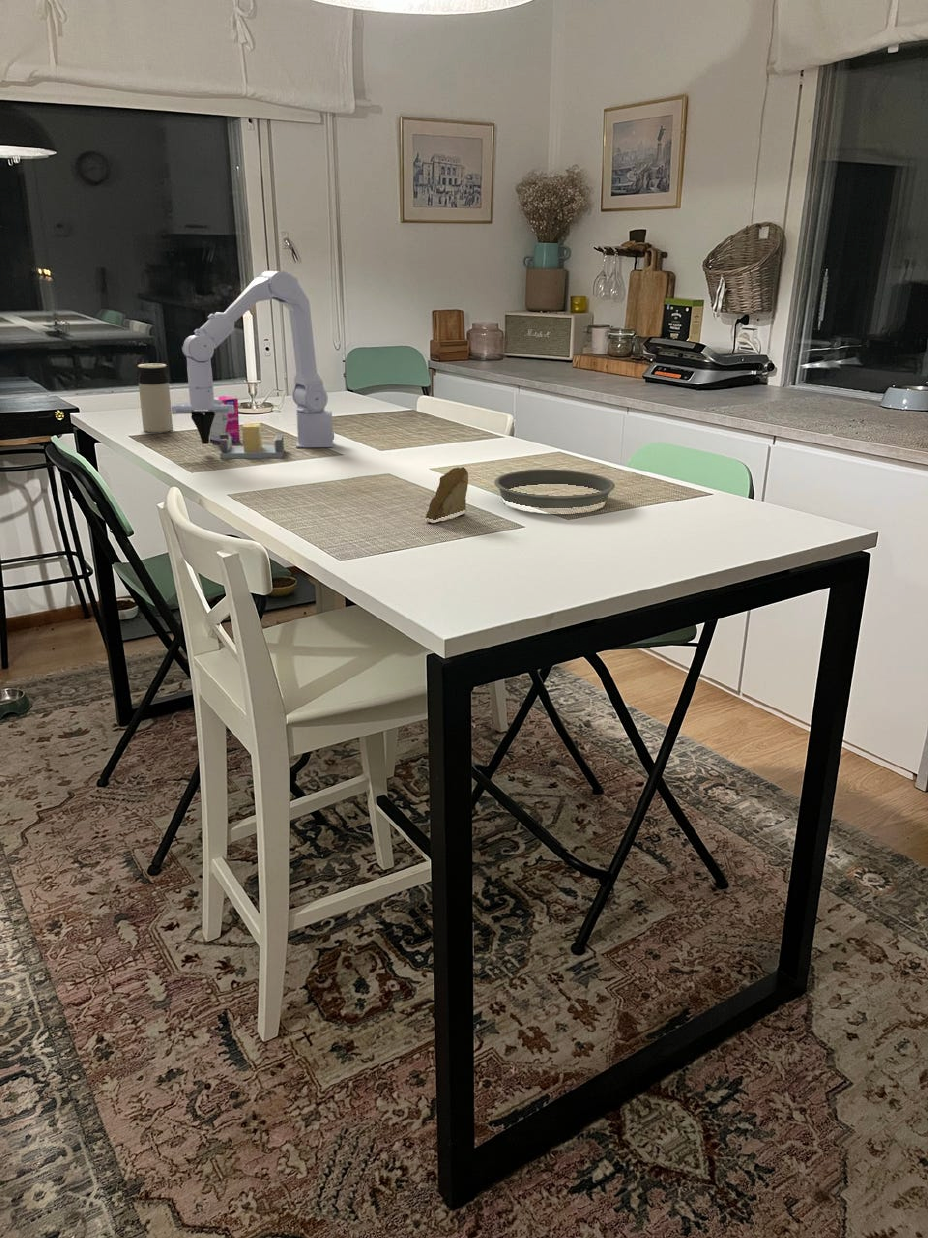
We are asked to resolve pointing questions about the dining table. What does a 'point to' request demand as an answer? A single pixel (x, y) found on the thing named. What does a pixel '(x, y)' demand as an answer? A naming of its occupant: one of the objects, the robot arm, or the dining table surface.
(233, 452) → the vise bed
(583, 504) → the cake pan
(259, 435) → the brass block
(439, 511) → the rock
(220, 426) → the supplement box
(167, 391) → the travel mug
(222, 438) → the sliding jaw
